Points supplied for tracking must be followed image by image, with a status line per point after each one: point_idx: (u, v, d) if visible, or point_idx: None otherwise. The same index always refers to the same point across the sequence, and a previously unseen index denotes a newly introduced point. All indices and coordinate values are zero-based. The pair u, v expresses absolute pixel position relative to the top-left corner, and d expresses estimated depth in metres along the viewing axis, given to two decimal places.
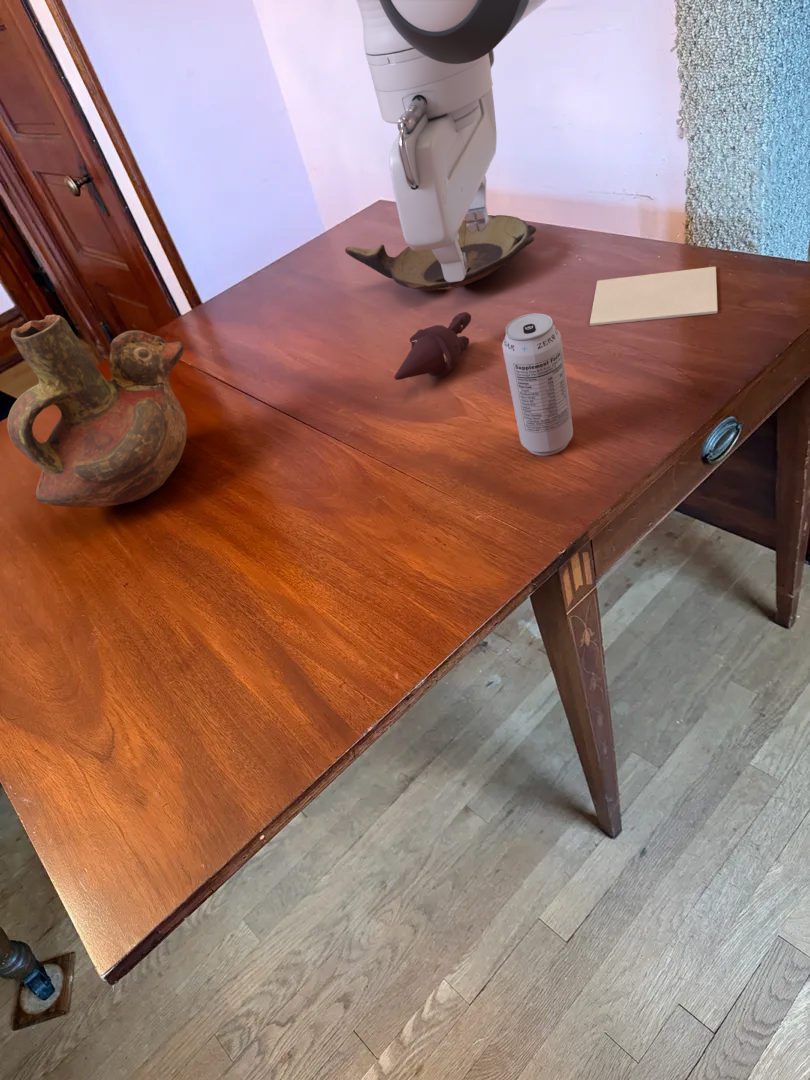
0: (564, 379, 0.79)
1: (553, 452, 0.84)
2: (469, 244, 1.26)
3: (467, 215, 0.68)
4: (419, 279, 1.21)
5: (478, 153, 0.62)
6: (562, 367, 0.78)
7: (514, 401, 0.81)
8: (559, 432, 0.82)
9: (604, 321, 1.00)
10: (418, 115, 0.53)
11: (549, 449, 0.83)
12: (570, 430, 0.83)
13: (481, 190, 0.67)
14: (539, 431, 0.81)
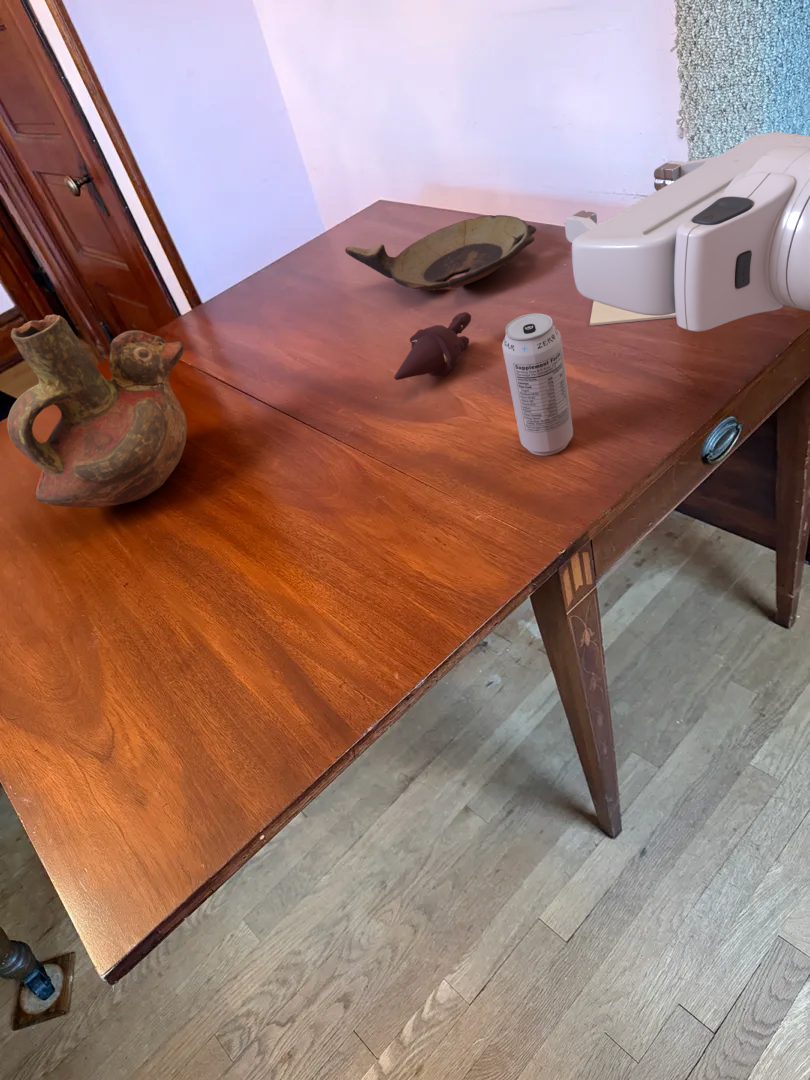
0: (564, 379, 0.79)
1: (553, 452, 0.84)
2: (469, 244, 1.26)
3: None
4: (419, 279, 1.21)
5: (668, 202, 0.49)
6: (562, 367, 0.78)
7: (514, 401, 0.81)
8: (559, 432, 0.82)
9: (604, 321, 1.00)
10: None
11: (549, 449, 0.83)
12: (570, 430, 0.83)
13: None
14: (539, 431, 0.81)
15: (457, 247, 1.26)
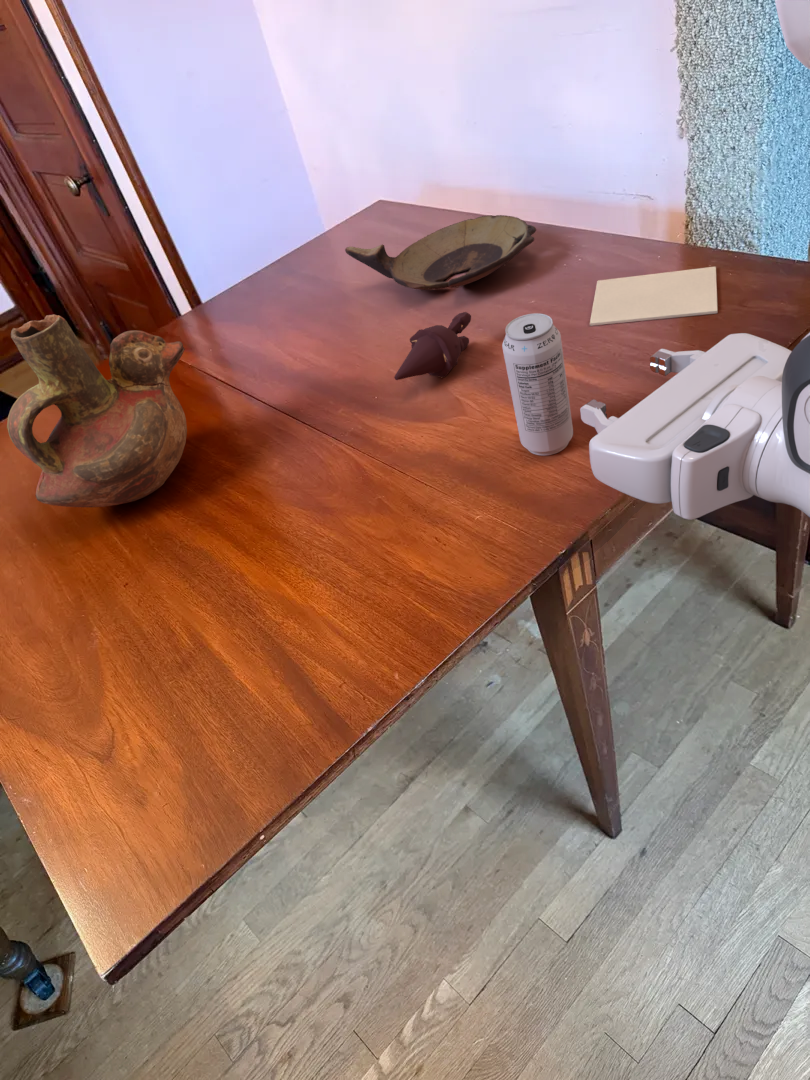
0: (564, 379, 0.79)
1: (553, 452, 0.84)
2: (469, 244, 1.26)
3: (605, 416, 0.67)
4: (419, 279, 1.21)
5: (663, 407, 0.63)
6: (562, 367, 0.78)
7: (514, 401, 0.81)
8: (559, 432, 0.82)
9: (604, 321, 1.00)
10: None
11: (549, 449, 0.83)
12: (570, 430, 0.83)
13: None
14: (539, 431, 0.81)
15: (457, 247, 1.26)
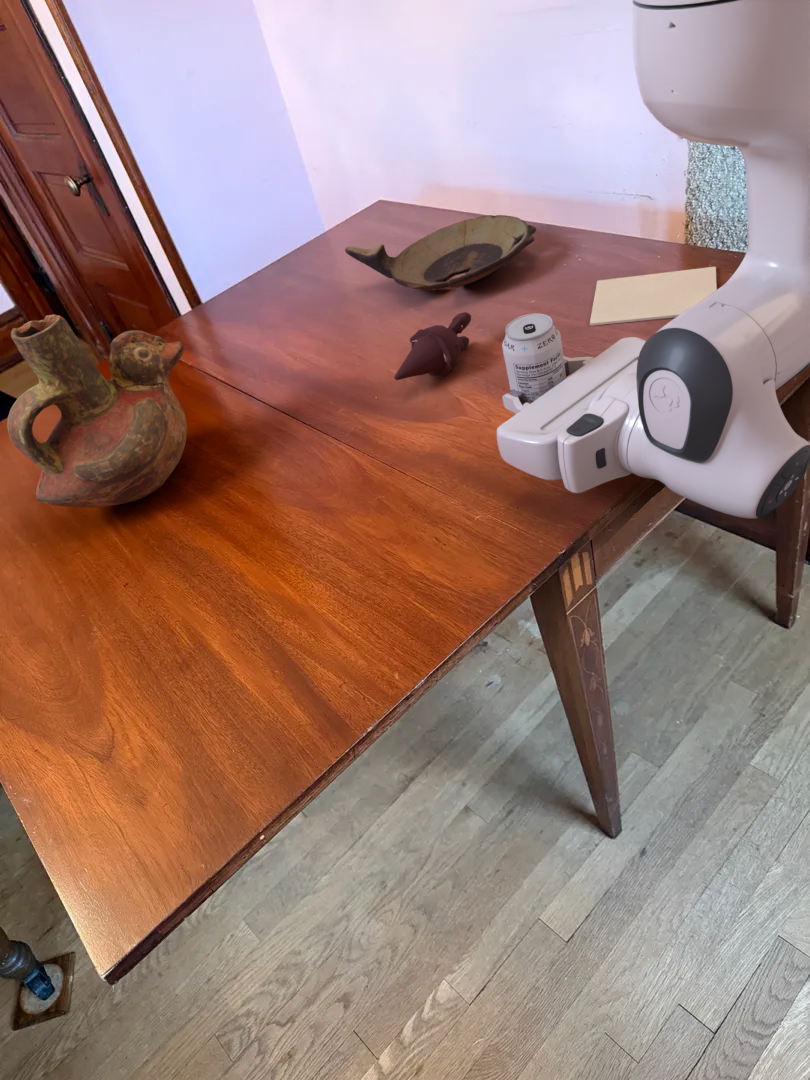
0: (564, 379, 0.79)
1: None
2: (469, 244, 1.26)
3: (523, 403, 0.80)
4: (419, 279, 1.21)
5: (559, 400, 0.74)
6: (562, 367, 0.78)
7: None
8: None
9: (604, 321, 1.00)
10: None
11: None
12: None
13: None
14: None
15: (457, 247, 1.26)
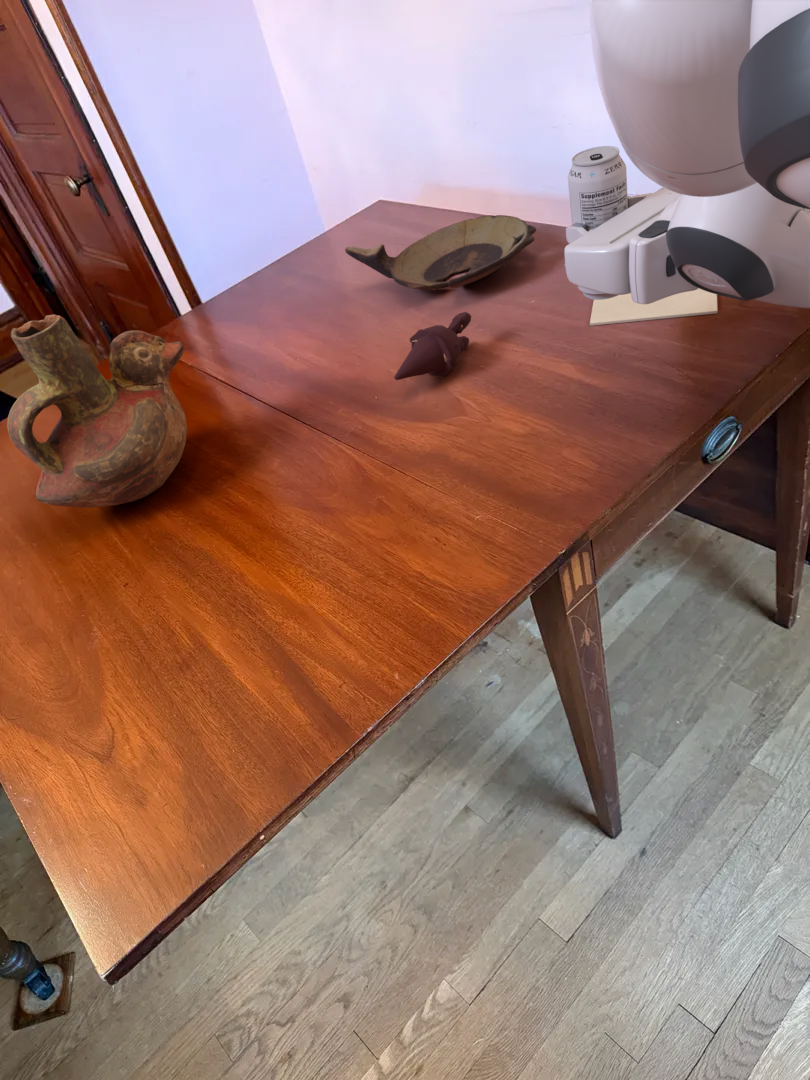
0: None
1: (611, 295, 0.86)
2: (469, 244, 1.26)
3: None
4: (419, 279, 1.21)
5: (625, 221, 0.76)
6: (626, 200, 0.80)
7: None
8: None
9: (604, 321, 1.00)
10: None
11: None
12: None
13: None
14: None
15: (457, 247, 1.26)
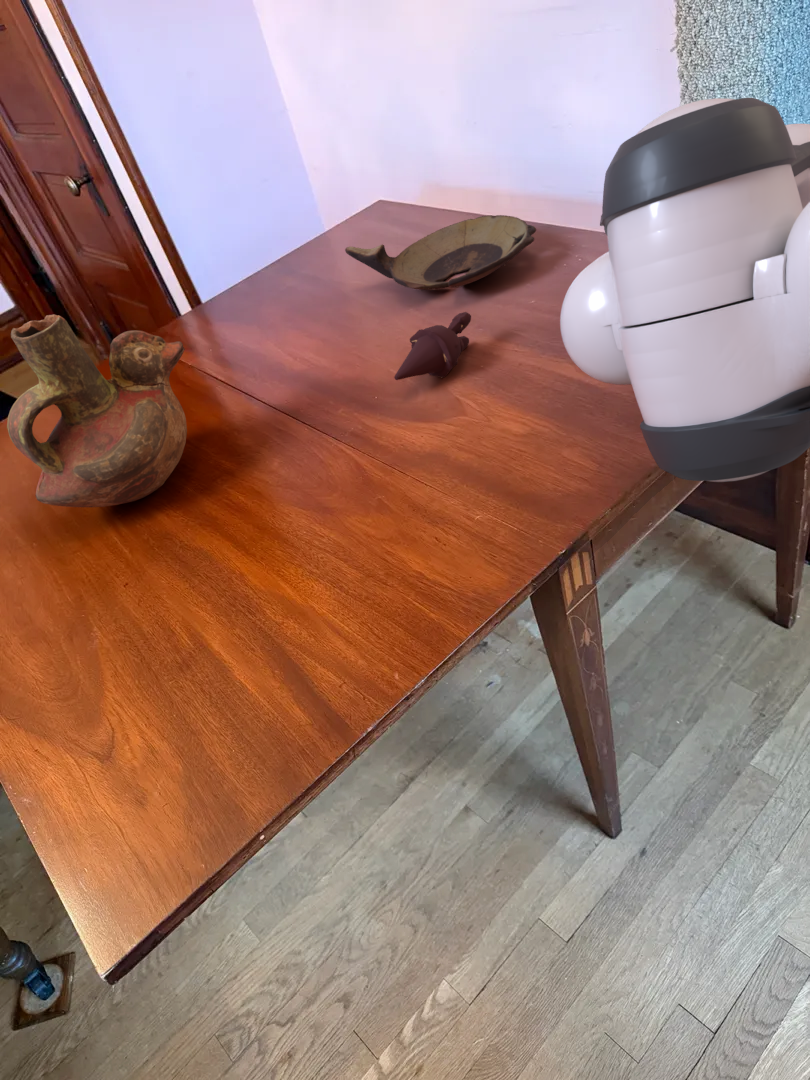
0: None
1: None
2: (469, 244, 1.26)
3: None
4: (419, 279, 1.21)
5: None
6: None
7: None
8: None
9: None
10: None
11: None
12: None
13: None
14: None
15: (457, 247, 1.26)
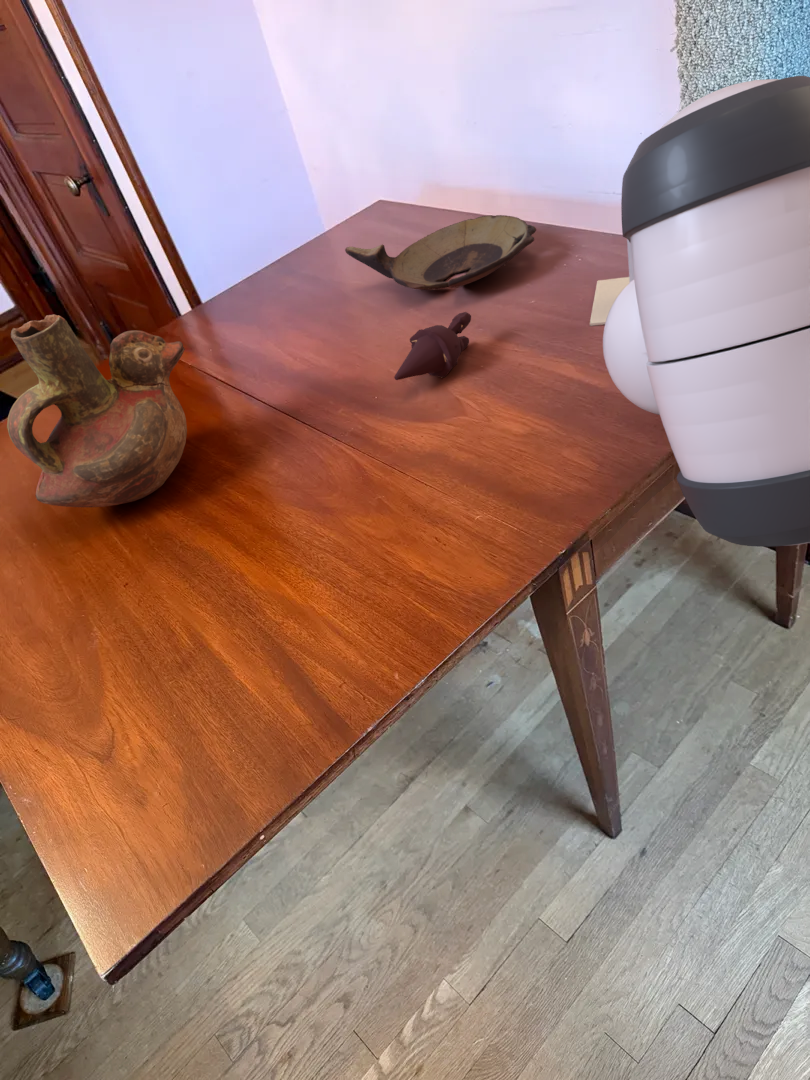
0: None
1: None
2: (469, 244, 1.26)
3: None
4: (419, 279, 1.21)
5: None
6: None
7: (631, 253, 0.97)
8: None
9: (604, 321, 1.00)
10: None
11: None
12: None
13: None
14: None
15: (457, 247, 1.26)
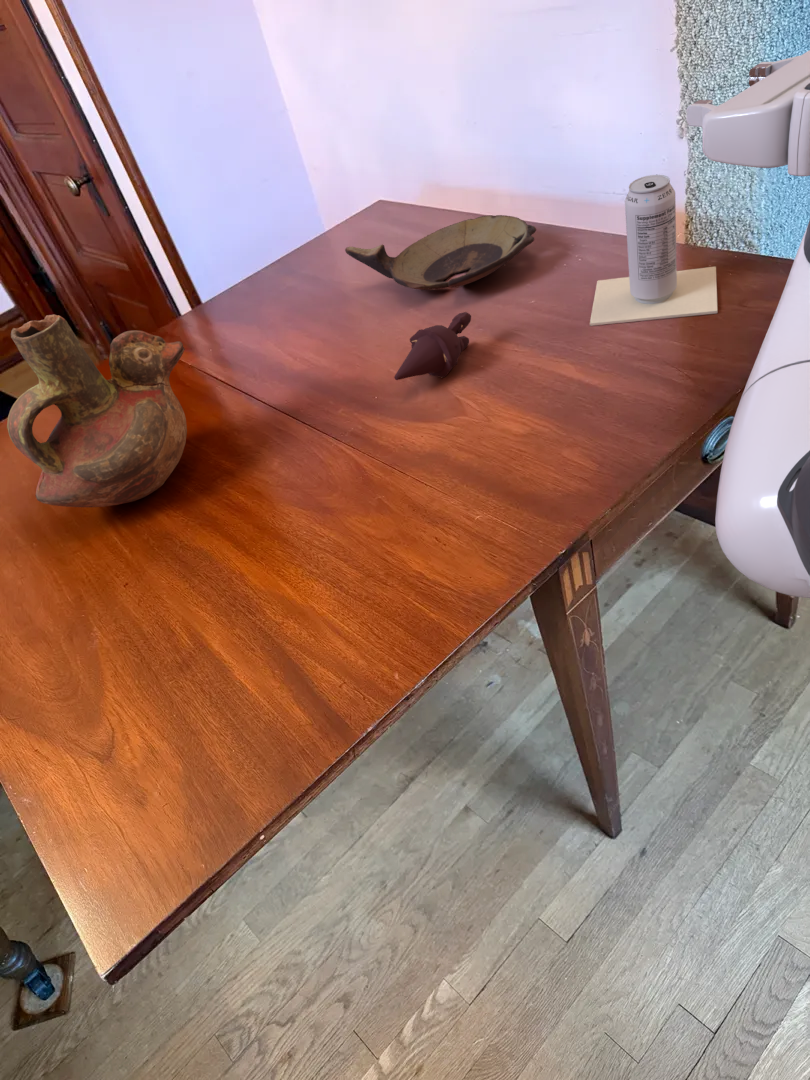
0: (675, 231, 0.95)
1: (660, 300, 1.00)
2: (469, 244, 1.26)
3: None
4: (419, 279, 1.21)
5: (774, 84, 0.65)
6: (674, 220, 0.94)
7: (631, 253, 0.97)
8: (667, 280, 0.98)
9: (604, 321, 1.00)
10: None
11: (658, 296, 0.99)
12: (675, 280, 0.99)
13: None
14: (651, 278, 0.98)
15: (457, 247, 1.26)
